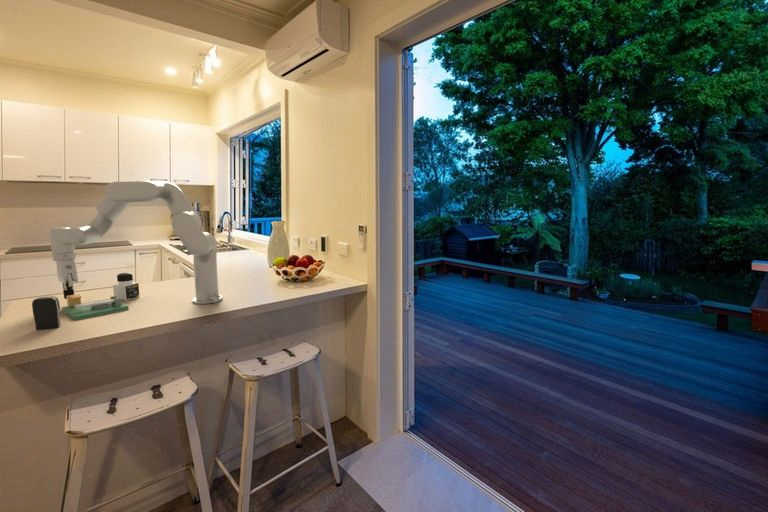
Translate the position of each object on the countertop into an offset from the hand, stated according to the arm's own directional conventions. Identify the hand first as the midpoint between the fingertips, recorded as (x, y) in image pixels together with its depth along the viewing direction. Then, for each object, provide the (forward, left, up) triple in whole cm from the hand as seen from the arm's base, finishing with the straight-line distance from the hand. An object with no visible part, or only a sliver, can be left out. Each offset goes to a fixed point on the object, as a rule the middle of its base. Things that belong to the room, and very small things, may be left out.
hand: (69, 298), depth 161 cm
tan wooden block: (-9, 0, -2) cm, 9 cm away
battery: (-27, +12, -4) cm, 30 cm away
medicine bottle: (-4, -20, -4) cm, 21 cm away
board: (-15, -5, -4) cm, 16 cm away
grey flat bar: (-18, -5, -1) cm, 19 cm away
